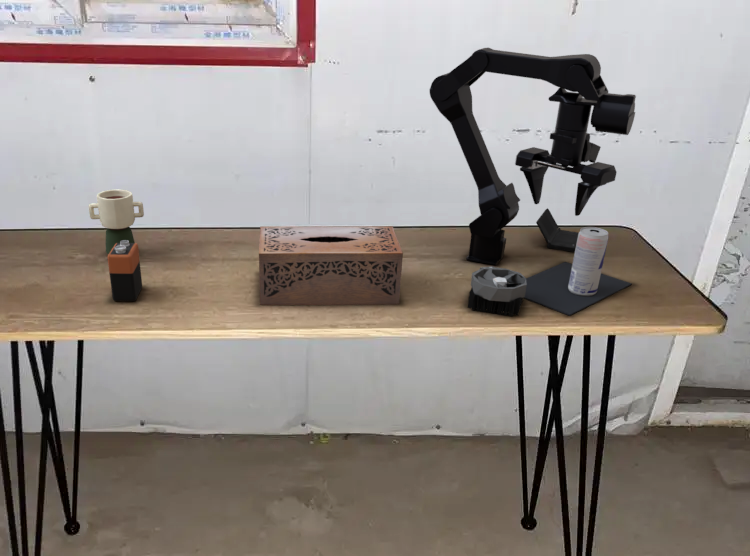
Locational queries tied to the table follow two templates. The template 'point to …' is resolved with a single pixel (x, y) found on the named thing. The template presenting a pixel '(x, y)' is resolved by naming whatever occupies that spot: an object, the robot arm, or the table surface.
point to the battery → (125, 271)
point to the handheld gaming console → (556, 233)
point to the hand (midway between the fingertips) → (556, 209)
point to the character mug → (116, 215)
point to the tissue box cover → (329, 265)
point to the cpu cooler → (497, 291)
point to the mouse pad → (566, 289)
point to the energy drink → (588, 261)
